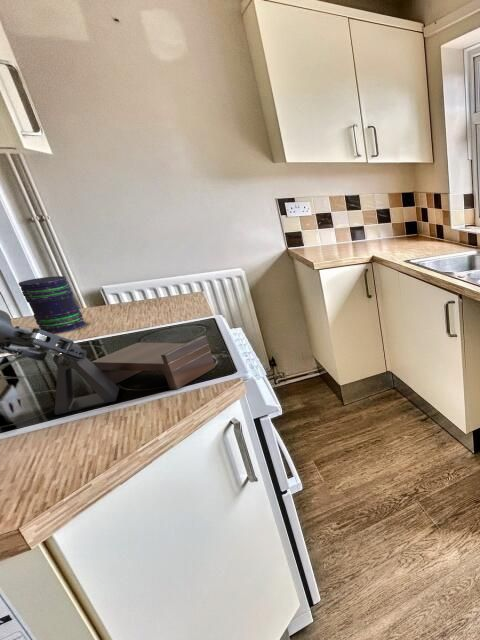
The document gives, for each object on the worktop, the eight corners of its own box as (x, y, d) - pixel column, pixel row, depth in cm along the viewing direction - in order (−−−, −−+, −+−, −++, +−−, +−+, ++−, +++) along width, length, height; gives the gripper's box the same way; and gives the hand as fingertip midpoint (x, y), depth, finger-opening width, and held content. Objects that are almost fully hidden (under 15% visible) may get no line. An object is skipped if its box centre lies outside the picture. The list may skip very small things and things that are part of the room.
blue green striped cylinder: (42, 328, 129) (20, 280, 123) (86, 320, 135) (67, 274, 129) (39, 336, 122) (15, 286, 116) (85, 328, 128) (64, 279, 122)
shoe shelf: (101, 387, 91) (86, 353, 88) (146, 365, 101) (134, 334, 98) (177, 389, 89) (165, 355, 86) (215, 367, 100) (205, 335, 97)
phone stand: (55, 415, 81) (26, 358, 76) (62, 402, 85) (35, 348, 81) (116, 400, 85) (93, 346, 81) (120, 389, 90) (98, 337, 85)
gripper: (6, 298, 66) (105, 338, 81) (-72, 297, 68) (40, 337, 83) (-20, 342, 64) (88, 375, 78) (-100, 340, 65) (21, 374, 80)
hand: (63, 356), depth 81 cm, fingers open, 8 cm apart
